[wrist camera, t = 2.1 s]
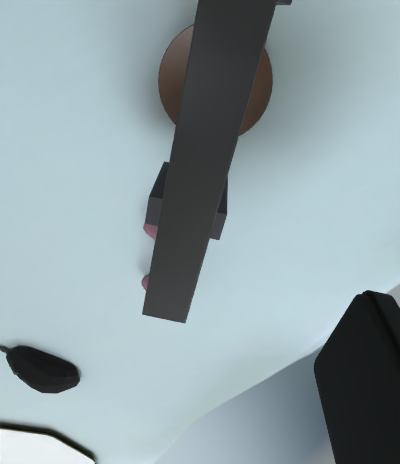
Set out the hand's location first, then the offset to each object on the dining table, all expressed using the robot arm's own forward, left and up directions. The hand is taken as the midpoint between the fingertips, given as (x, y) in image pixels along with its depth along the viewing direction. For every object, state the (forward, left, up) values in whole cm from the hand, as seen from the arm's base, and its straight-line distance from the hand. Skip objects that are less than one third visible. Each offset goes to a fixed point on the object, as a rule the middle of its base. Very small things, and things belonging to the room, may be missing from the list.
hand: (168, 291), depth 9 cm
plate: (+20, +82, -28) cm, 88 cm away
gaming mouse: (+18, +47, -28) cm, 57 cm away
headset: (0, 0, -23) cm, 23 cm away
